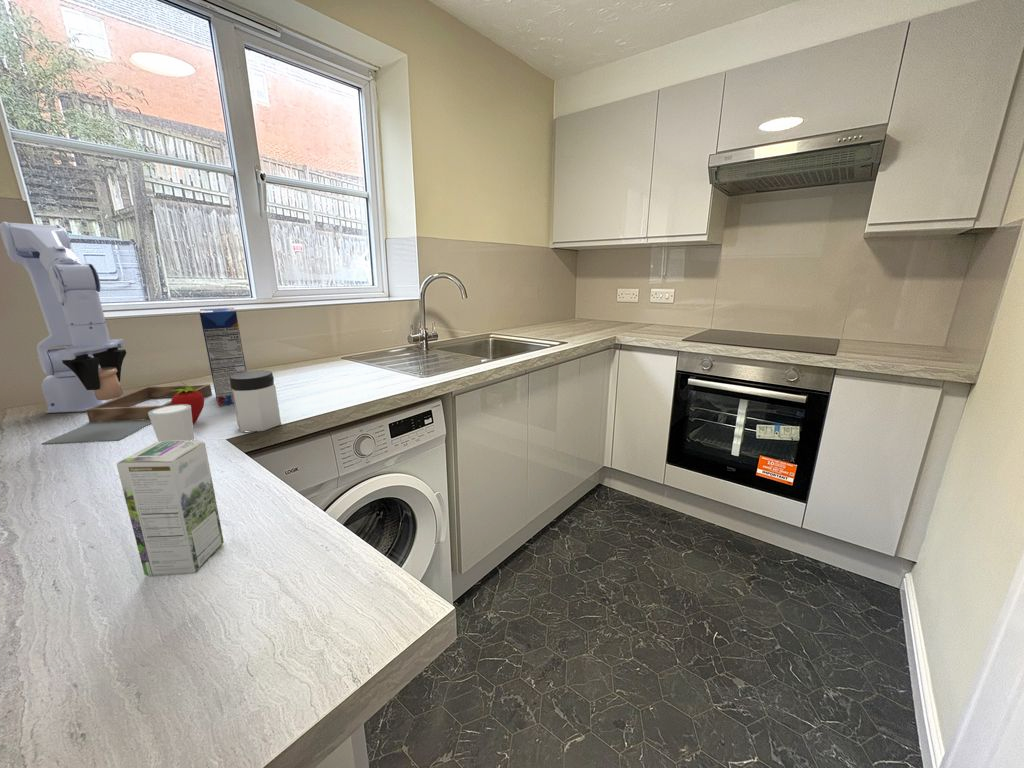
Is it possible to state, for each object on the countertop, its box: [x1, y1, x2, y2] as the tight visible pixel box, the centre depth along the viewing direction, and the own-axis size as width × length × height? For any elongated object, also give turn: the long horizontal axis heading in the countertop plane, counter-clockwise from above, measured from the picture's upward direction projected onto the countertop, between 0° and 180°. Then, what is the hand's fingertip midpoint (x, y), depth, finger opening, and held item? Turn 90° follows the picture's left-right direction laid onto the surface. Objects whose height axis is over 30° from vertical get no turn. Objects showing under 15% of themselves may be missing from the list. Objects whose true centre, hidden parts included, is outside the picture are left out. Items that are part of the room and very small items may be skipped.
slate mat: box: [41, 419, 152, 445], centre depth 90 cm, size 14×12×1 cm
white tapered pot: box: [148, 404, 195, 442], centre depth 84 cm, size 7×7×7 cm
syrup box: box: [116, 440, 225, 577], centre depth 49 cm, size 6×6×14 cm
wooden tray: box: [85, 383, 213, 423], centre depth 106 cm, size 16×20×3 cm
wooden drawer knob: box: [93, 367, 124, 400], centre depth 91 cm, size 5×5×6 cm
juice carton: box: [199, 307, 247, 407], centre depth 110 cm, size 12×8×24 cm, turn 35°
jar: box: [229, 369, 282, 433], centre depth 92 cm, size 9×8×12 cm
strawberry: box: [170, 381, 205, 424], centre depth 94 cm, size 6×8×10 cm
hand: (104, 386), depth 91 cm, fingers closed on wooden drawer knob, 5 cm apart
